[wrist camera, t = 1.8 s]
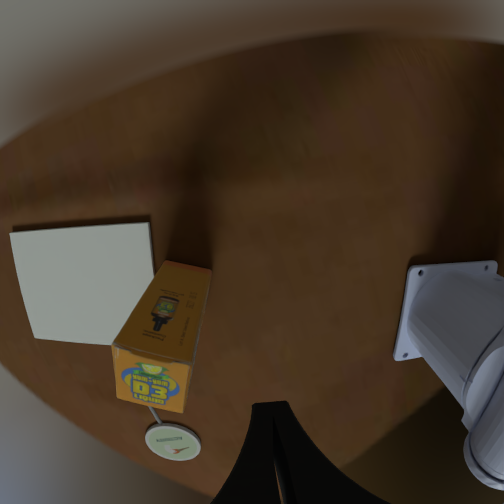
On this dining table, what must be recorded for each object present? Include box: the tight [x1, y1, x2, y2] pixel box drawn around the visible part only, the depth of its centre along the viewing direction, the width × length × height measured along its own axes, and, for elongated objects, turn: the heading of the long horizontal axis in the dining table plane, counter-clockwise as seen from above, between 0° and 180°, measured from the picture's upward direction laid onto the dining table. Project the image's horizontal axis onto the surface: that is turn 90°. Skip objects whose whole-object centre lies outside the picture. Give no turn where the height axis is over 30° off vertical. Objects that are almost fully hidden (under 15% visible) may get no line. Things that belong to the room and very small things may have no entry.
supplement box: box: [112, 260, 212, 413], centre depth 16 cm, size 3×3×10 cm
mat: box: [10, 222, 155, 345], centre depth 21 cm, size 12×9×1 cm
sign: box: [145, 406, 201, 461], centre depth 24 cm, size 5×1×15 cm
